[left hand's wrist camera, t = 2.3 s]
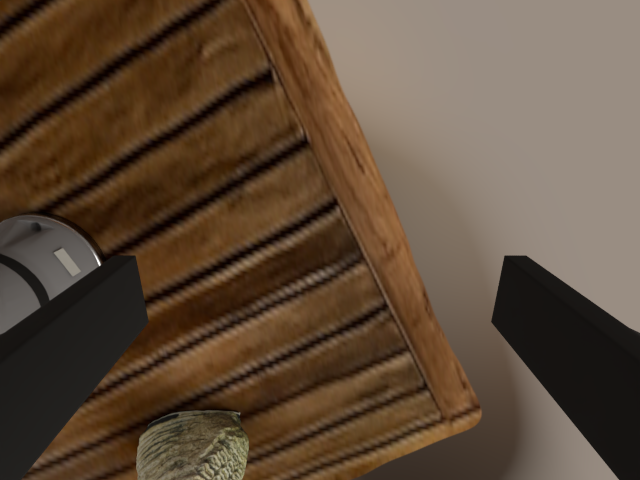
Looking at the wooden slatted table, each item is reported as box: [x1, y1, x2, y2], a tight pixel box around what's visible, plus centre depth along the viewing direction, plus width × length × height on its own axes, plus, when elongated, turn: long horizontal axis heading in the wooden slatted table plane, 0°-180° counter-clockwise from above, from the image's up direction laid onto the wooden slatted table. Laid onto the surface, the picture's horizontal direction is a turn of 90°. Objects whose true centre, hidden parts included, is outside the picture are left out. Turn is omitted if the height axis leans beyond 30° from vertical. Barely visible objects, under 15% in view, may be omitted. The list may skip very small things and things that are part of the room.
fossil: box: [136, 410, 249, 480], centre depth 50 cm, size 9×18×15 cm, turn 112°
